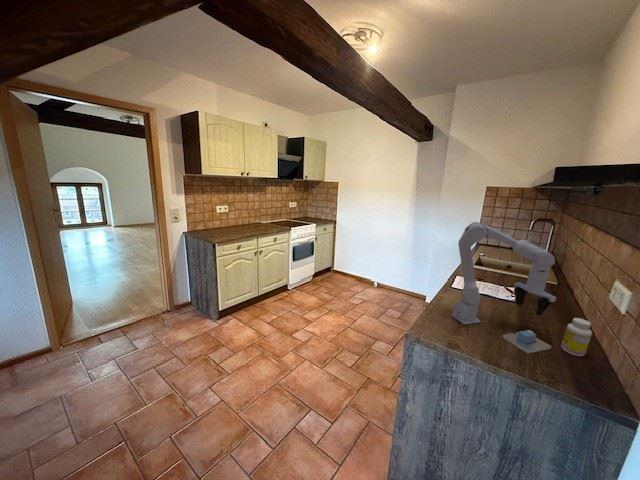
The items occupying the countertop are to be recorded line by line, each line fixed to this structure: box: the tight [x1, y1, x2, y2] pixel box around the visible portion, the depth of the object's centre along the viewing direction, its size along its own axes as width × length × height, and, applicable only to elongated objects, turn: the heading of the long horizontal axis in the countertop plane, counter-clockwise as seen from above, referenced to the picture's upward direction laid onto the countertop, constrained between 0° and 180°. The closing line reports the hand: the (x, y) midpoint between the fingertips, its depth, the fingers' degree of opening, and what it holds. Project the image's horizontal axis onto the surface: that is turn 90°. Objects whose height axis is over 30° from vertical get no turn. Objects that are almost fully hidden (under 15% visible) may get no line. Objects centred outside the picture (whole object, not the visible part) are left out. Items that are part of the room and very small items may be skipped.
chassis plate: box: [501, 331, 552, 354], centre depth 101 cm, size 12×10×1 cm
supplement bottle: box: [560, 317, 593, 357], centre depth 95 cm, size 7×7×13 cm
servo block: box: [517, 329, 537, 345], centre depth 100 cm, size 5×3×5 cm, turn 106°
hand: (529, 309), depth 106 cm, fingers open, 7 cm apart
